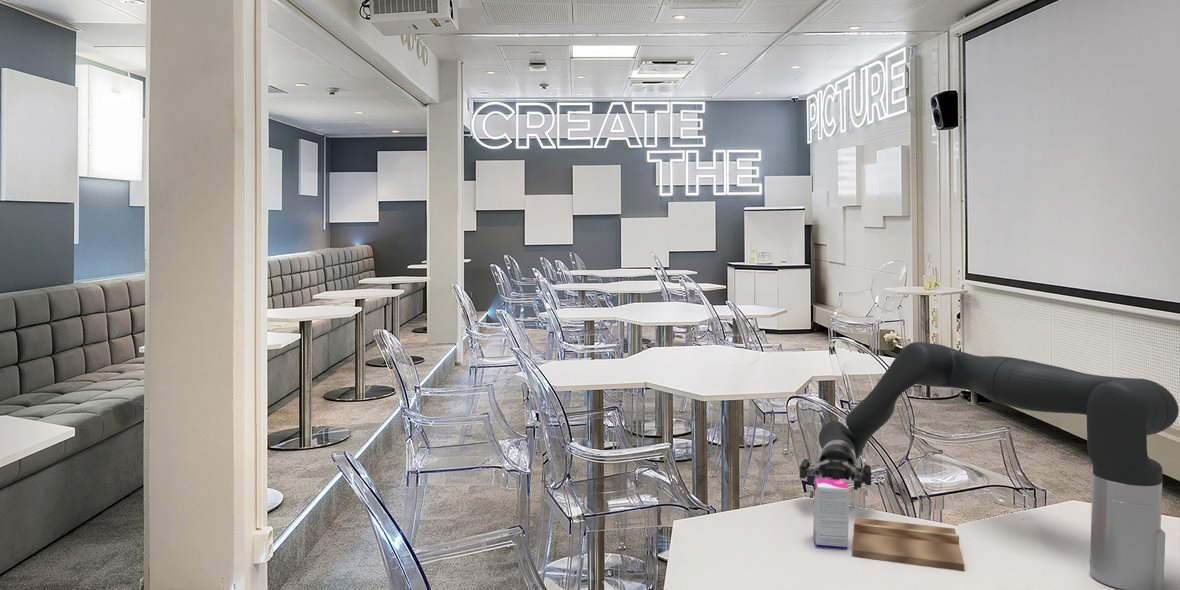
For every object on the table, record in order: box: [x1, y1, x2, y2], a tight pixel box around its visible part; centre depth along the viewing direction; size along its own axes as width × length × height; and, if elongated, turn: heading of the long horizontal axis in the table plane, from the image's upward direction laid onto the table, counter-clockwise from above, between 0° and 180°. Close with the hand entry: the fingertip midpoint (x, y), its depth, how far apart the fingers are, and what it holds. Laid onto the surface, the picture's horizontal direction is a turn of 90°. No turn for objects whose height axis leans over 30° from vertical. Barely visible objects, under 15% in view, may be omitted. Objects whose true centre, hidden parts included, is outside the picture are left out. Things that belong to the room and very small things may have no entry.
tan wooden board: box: [851, 517, 965, 572], centre depth 137 cm, size 18×17×3 cm
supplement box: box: [812, 478, 850, 551], centre depth 138 cm, size 6×6×12 cm
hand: (833, 482), depth 149 cm, fingers open, 8 cm apart
